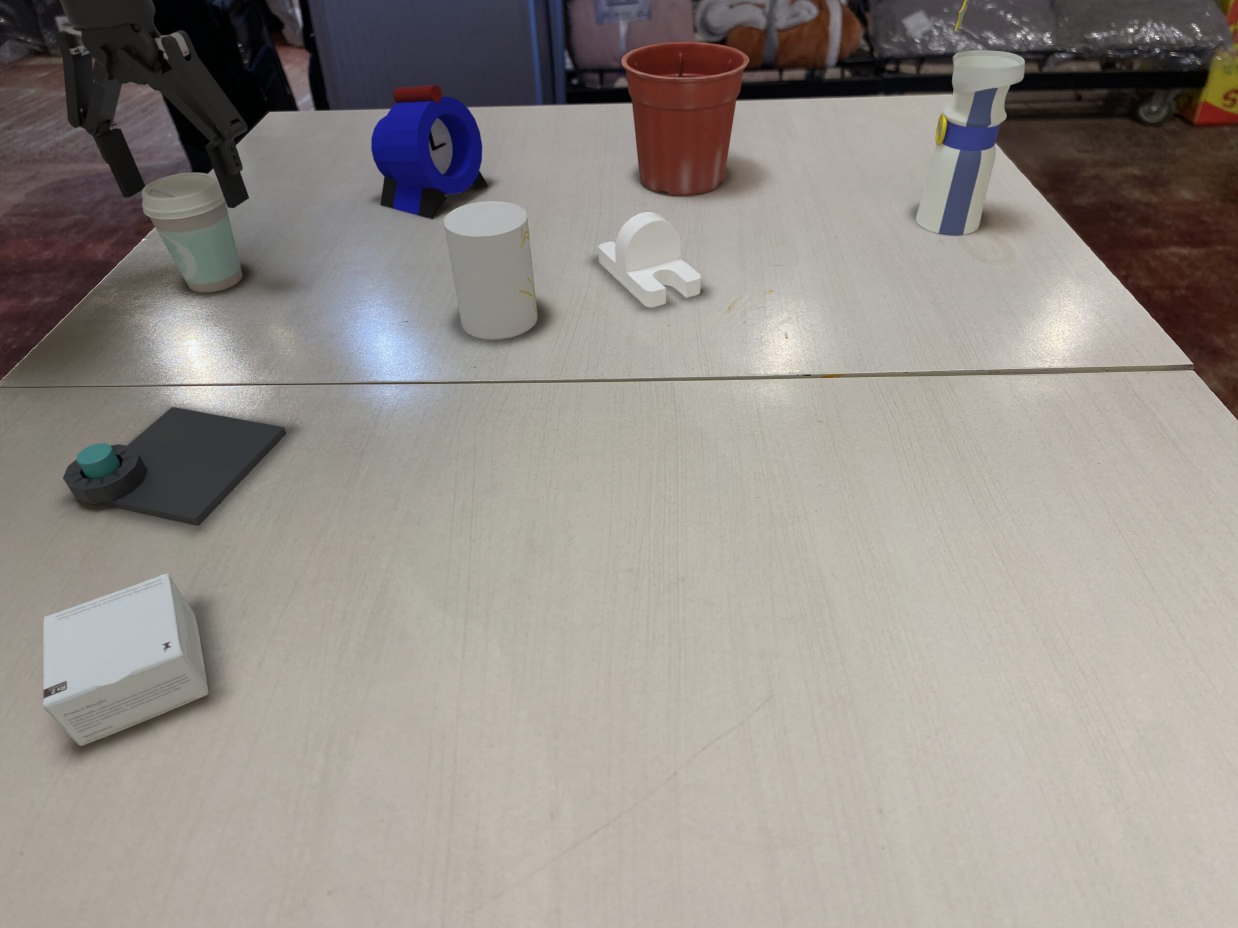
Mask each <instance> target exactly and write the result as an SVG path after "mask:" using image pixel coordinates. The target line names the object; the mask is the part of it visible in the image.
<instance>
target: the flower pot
mask: <svg viewBox="0 0 1238 928" xmlns="http://www.w3.org/2000/svg"><path fill="white" fill-rule="evenodd" d="M749 63H750V58H749V56H748V55H747V54H746V53H745V52H743V51H742V50H739V49H738V48H735V47H732V46H727V45H722V44H718V43H712V42H711V43H709V42H701V41H672V42H663V43H662V42H661V43H656V44H655V43H654V44H649V45H645V46H641V47H638V48H635V49H632V50H630V51H629V52H627V53H625V54H624V55H623V56H622V58H621V66H622V67H623V68H622V69H624V70H625V73H626V81H627V90H628V94H629V96H630V98H631V107H632V115H633V125H634V126H633V127H634V133H635V135H634V136H635V145H636V156H637V164H638V165H637V166H638V172H639V173H638V174H639V175H638V176H639V181H640V183H641V184H642V185H643V186H644V187H646V188H647V189H649V190H651V191H653V192H655V193H659V192H660V191H664V192H666V193H668V195H670V196H686V197H688V196H696V195H702V194H704V193H708V192H712V191H714V190H716V189H717V187H718V186H719V184H723V183H724V181H725V176H726V170H727V165H728V164H727V163H728V157H729V151H730V145H731V137H732V131H733V124H734V118H735V111H736V105H737V99H738V96H739V95H740V93H741V88H742V82H743V74H744V70H745V69H746V68H747V67H748V65H749Z"/></svg>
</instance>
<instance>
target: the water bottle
mask: <svg viewBox="0 0 1238 928" xmlns="http://www.w3.org/2000/svg"><path fill="white" fill-rule="evenodd" d="M967 3H968V0H964V1H963V4H962V7H961V9H960V10H959V11H958V19H957V22H956V25H955V28H954V32H957V30H958V28H961V26H962V23H963V18H964V15H965V13H966V11H967V10H968V9H967V8H968V5H967ZM952 65H953V71H952V79H951V83H952V88H953V92H952V96H951V97H950V100H949V103H948V104H947V105H946V106H945V107H944V109H943V110H942V113H941V114H940V115H939V117H938V121H937V125H936V130H935V144H936V145H935V147H934V149H933V153H932V156H931V160H930V164H929V169H928V172H927V175H926V176H927V177H926V181H925V185H924V188H923V192H922V196H921V199H920V203H919V205H918V210H917V213H916V216H915V222H916V223H917V225H918V226H920V227H921V228H922V229H924V230H926V231H929V232H931V233H934V234H940V235H945V236H964V235H968V234H972V233H974V232H976V231H977V230H978V229H979V228H980V224H981V220H982V214H983V209H984V205H985V200H986V196H987V192H988V188H989V184H990V181H991V177H992V173H993V169H994V166H995V162H996V156H997V148H996V142H997V138H998V135H999V131H1000V127H1001V124H1002V123H1003V122H1004V121H1006V119H1007V117H1008V116H1007V112H1006V109H1005V102H1006V97H1007V95H1008V91H1009V90H1010V87H1011V85H1015V84H1018V83H1020V82H1022V81H1023V79H1024V77H1025V69H1026V67H1025V66H1026V61H1025V58H1023V57H1022V56H1020V55H1018V54H1016V53H1012V52H1009V51H1008V52H1007V51H1002V50H983V49H979V50H977V49H975V50H965V51H960V52H957V53H955V54H954V55H952Z"/></svg>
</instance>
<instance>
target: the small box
mask: <svg viewBox="0 0 1238 928" xmlns="http://www.w3.org/2000/svg"><path fill="white" fill-rule="evenodd" d="M42 632H43V633H42V634H43V635H42V636H43V637H42V638H43V640H42V641H43V646H42V647H43V656H42V657H43V658H42V659H43V666H42V667H43V668H42V670H43V673H42V680H43V681H42V709H43V710H44V711H45V712H46V713H47V714H48V715H49V716H50V717H51V718H52V719H53V720H54V721H55V722H56V723H57V724H58V725H59V726H60V727H61V728H62V729H63V730H64V731H65V732H66V733H67V734H68V736H70V738H72V739H71V740H73V741H74V742H75V743H76V744H77V745H78V746H79V747H83V746H86V745H88V744H91V743H93V742H96V741H98V740H100V739H103V738H106V737H109V736H111V735H114V734H117V733H119V732H121V731H124V730H126V729H129V728H132V727H133V726H136V725H138V724H140V723H143V722H146V721H148V720H151V719H153V718H156V717H158V716H161V715H163V714H165V713H167V712H170V711H172V710H174V709H177V708H180V707H182V706H185V705H187V704H189V703H192V702H194V701H196V700H199V699H200V698H203V697H206V696H208V695H209V686H208V679H207V673H206V667H205V659H204V655H203V649H202V643H201V637H200V631H199V626H198V622H197V617H196V614H195V612H194V611H193V609H192V608H191V607H190V605H189V603H188V602H187V601H186V598H185V597H184V596H183V594H182V592H181V591H180V589H179V587H178V586H177V584H176V583H175V581H174V579H173V578H172V576H171V575H170V573H169V572H167V573H163V574H161V575H158V576H155V577H153V578H150V579H147V580H144V581H142V582H139V583H136V584H133V585H131V586H128V587H126V588H123V589H119V590H117V591H114V592H111V593H109V594H105V595H103V596H100V597H97V598H94V599H92V600H89V601H86V602H84V603H81V604H77V605H75V606H72V607H69V608H66V609H63V610H60V611H57V612H55V613H52V614H49V615H46V616H44V617H43V631H42Z"/></svg>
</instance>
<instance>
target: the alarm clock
mask: <svg viewBox="0 0 1238 928" xmlns="http://www.w3.org/2000/svg"><path fill="white" fill-rule="evenodd" d="M392 96H393V100H394V102H395V104H393V105H392V106H391V108H390V109H389V111H388V112H387V114H386V115H385V116H383V117H381V118H380V119H379V120H378V121H377V123H376V124H375V126H374V128H373V131H372V134H371V140H370V141H371V143H370V144H371V146H370V147H371V155H372V158H373V162H374V164H375V166H376V168H377V170H378V171H379V172H380V173H381V175H382V176H383V183H382V191H381V196H380V197H381V198H380V206H383V207H386V208H389V209H394V210H397V211H401V212H405V213H409V214H411V215H416V216H419V217H423V218H427V219H430V220H433V219H434V218H435V217H436V216H437V214H438V212H439V211H440V210H441V209H442V207H444V205H445V203H446V202H447V201H448V200H449V196H447V195H457V194H461V193H464V192H466V190H468V189H469V188H470V187H472V186H476V187H486V188H487V187H488V188H489V187H490V186H489V184H488V183H487V181H486V179H485V178H484V176H483V174H482V173H481V171H480V169H481V166H482V162H483V141H482V135H481V130H480V128H479V125H478V123H477V121H476V118H475V117H474V114H472V112H471V110H470V109H469V108H468V107H467V106H466V105H465V104H464V103H463V102H461V101H460V100H459V99H457V98H455V97H451V96H447V95H446V96H443V91H442V89H441V88H440V86H439V85H437V84H434V85H433V84H431V85H420V86H419V85H417V86H405V87H396V88H394V90H393V93H392Z"/></svg>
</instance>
